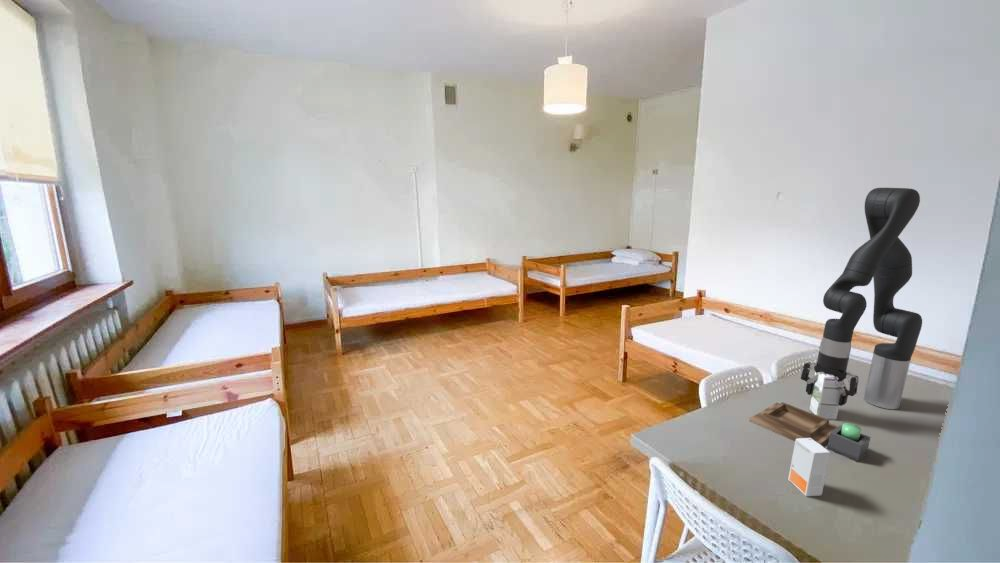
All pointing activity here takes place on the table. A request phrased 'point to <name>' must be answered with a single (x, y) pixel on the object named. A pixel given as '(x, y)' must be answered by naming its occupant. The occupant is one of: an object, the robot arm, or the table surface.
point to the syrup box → (825, 397)
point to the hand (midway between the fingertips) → (824, 399)
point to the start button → (851, 431)
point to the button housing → (848, 445)
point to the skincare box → (809, 466)
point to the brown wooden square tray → (794, 423)
